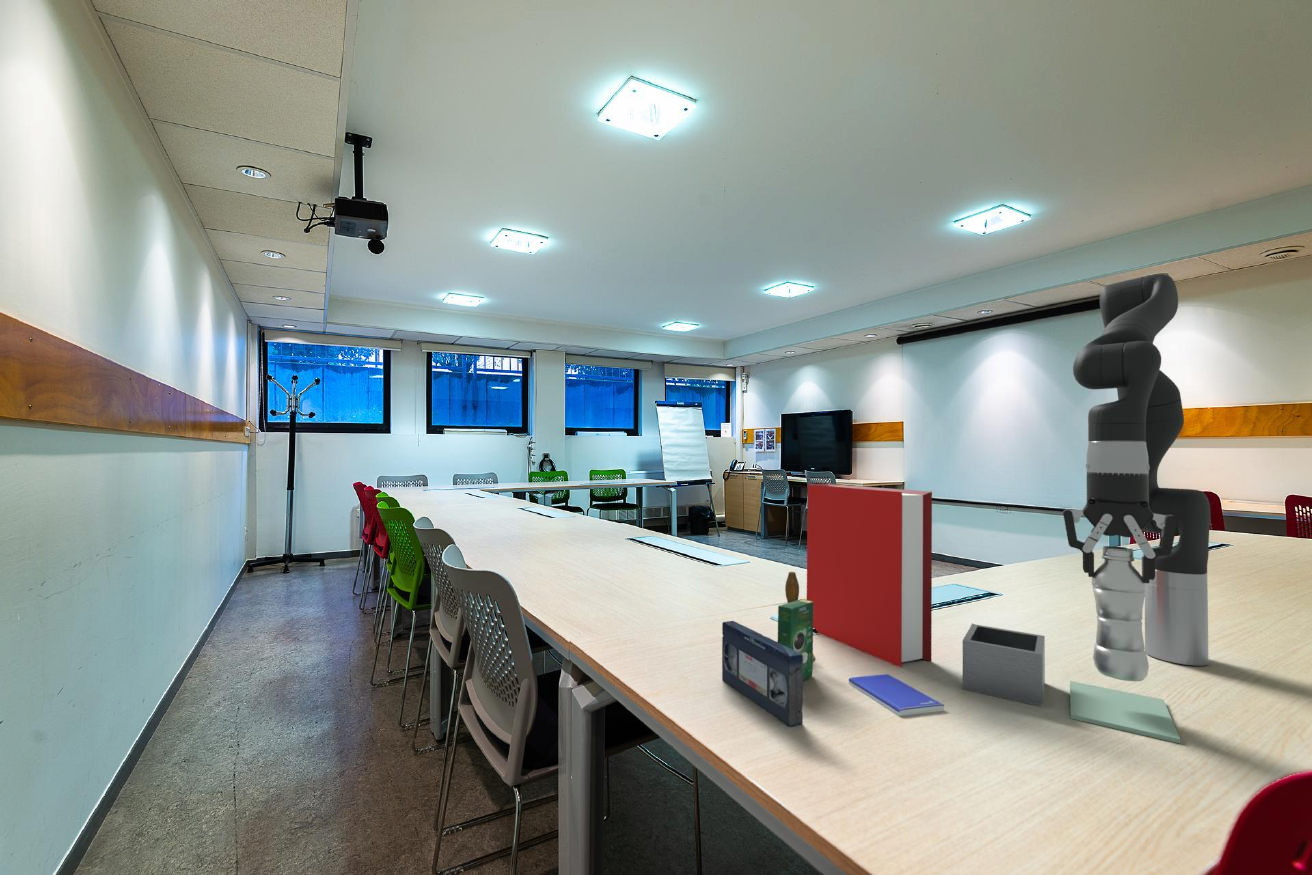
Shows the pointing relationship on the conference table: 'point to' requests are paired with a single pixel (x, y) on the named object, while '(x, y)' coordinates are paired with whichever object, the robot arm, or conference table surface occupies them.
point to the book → (871, 569)
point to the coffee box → (797, 631)
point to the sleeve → (1004, 664)
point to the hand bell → (792, 589)
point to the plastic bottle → (1119, 616)
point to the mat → (1122, 711)
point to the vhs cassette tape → (763, 672)
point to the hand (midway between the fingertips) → (1117, 578)
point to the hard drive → (895, 695)
